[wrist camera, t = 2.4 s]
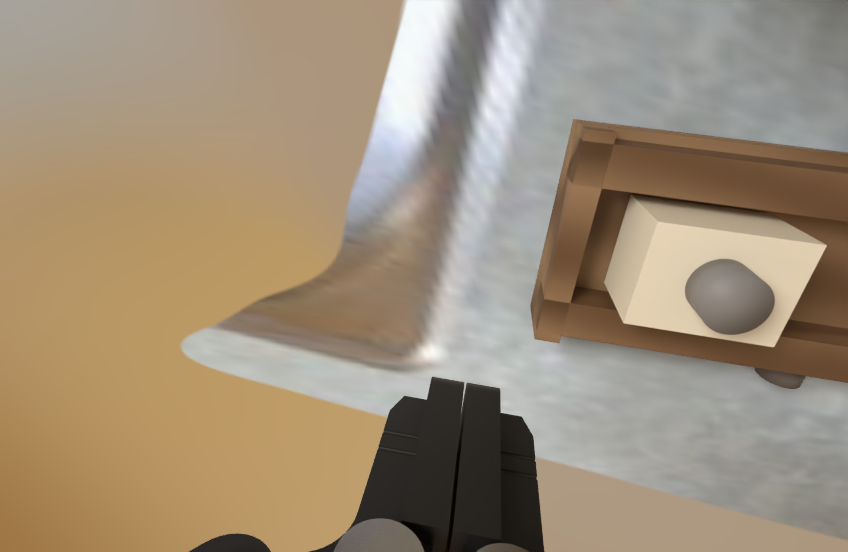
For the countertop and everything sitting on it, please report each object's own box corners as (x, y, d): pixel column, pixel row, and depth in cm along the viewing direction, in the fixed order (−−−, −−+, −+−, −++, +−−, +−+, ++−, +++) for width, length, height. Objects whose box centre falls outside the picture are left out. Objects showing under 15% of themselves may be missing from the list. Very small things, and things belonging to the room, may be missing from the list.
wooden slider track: (579, 91, 21) (594, 97, 18) (1233, 167, 19) (1391, 190, 15) (526, 323, 26) (530, 360, 23) (1027, 405, 24) (1111, 460, 21)
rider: (630, 194, 21) (672, 236, 16) (769, 213, 20) (857, 262, 15) (604, 282, 23) (633, 344, 18) (729, 301, 22) (796, 371, 17)
